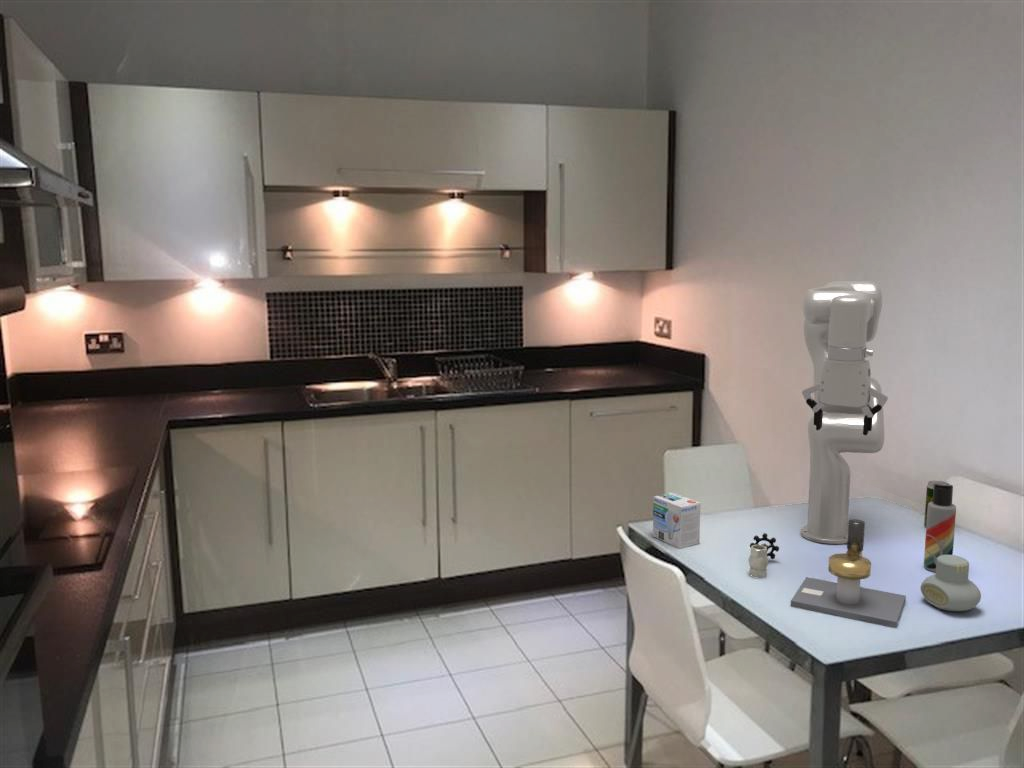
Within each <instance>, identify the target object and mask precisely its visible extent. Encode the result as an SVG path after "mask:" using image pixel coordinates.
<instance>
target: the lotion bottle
mask: <svg viewBox="0 0 1024 768" xmlns="http://www.w3.org/2000/svg"><path fill="white" fill-rule="evenodd" d="M953 495H954V485H952V484H950V485H946V484H934V490H933V502H929V503H928V510H927V524H926V528H925V539H924V540H925V542H924V552H923V553H924V554H923V555H924V556H923V567H924V568H925V570H927V571H929V572H932V573H936V562H937V558H938V557H939V556H941V555H954V553H953V552H954V541H955V529H956V516H957V507H956V505H955V504H953Z"/></svg>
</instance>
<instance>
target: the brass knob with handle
mask: <svg viewBox="0 0 1024 768" xmlns="http://www.w3.org/2000/svg"><path fill="white" fill-rule="evenodd" d="M865 526H866V522H865V521H864V520H862V519H856V518H855V519H853V518H851V519H848V540H847V543H846V549H847V551H846V553H835V554H832V555H829V557H828V572H829V574H831V575H833V576H835V577H840V578H845V579H852V580H860V581H861V580H867V579H868V578H870V577H871V571H872V570H871V569H872V562H871V560H870V559H869V558H867V557H865V556H863V554H864V553H863V551H864V547H865V546H864V545H865V544H864V543H865V528H866V527H865Z"/></svg>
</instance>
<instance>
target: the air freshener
mask: <svg viewBox="0 0 1024 768" xmlns="http://www.w3.org/2000/svg"><path fill="white" fill-rule="evenodd" d="M969 569H970V562H969V560H967V558H964V557H962V556H959V555H954V554H953V555H941V556H939V557H938V558H937V562H936V572H935V573H934V574H932V575H929V576H927V577H925V579H924V580H923V581H922V582H921V585H920V593H921V594H922V596H923V597H924V599H925V600H926V601H927V602H928V603H929V604H931V605H933V606H934V607H935V608H937V609H939V610H942V611H947V612H964V611H969V610H971V609H973V608H975V607H977V606H978V605H979V604H980V602H981V599H982V594H981V590H980V588H979V587H978V586H977V585H976V583H974V582H973V581H971V579H969V571H970V570H969Z"/></svg>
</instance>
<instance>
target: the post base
mask: <svg viewBox="0 0 1024 768" xmlns="http://www.w3.org/2000/svg"><path fill="white" fill-rule="evenodd" d="M836 577H837V576H836ZM836 580H837V581H836V582H834V581H830V580H825V579H824V580H823V579H819V578H813V577H808V576H806V577H805V578H804V579H803V582H802V583H801V585H800V586H799V588H798V589H797V591H796V592H795V594H794V595H793V597H792V598H791V599H790V607H793V608H797V609H802V610H807V611H813V612H816V613H822V614H827V615H832V616H837V617H842V618H847V619H851V620H856V621H861V622H866V623H871V624H875V625H880V626H886V627H890V628H895V629H896V628H897V626H898V623H899V620H900V618H901V616H902V613H903V609H904V607H905V603H906V599H907V596H906V594H905V595H904V594H900V593H899V594H898V593H895V592H889V591H883V590H879V589H873V588H866V587H863V586H862V587H861V579H860V580H852V579H845V578H840V577H837V579H836Z"/></svg>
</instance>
